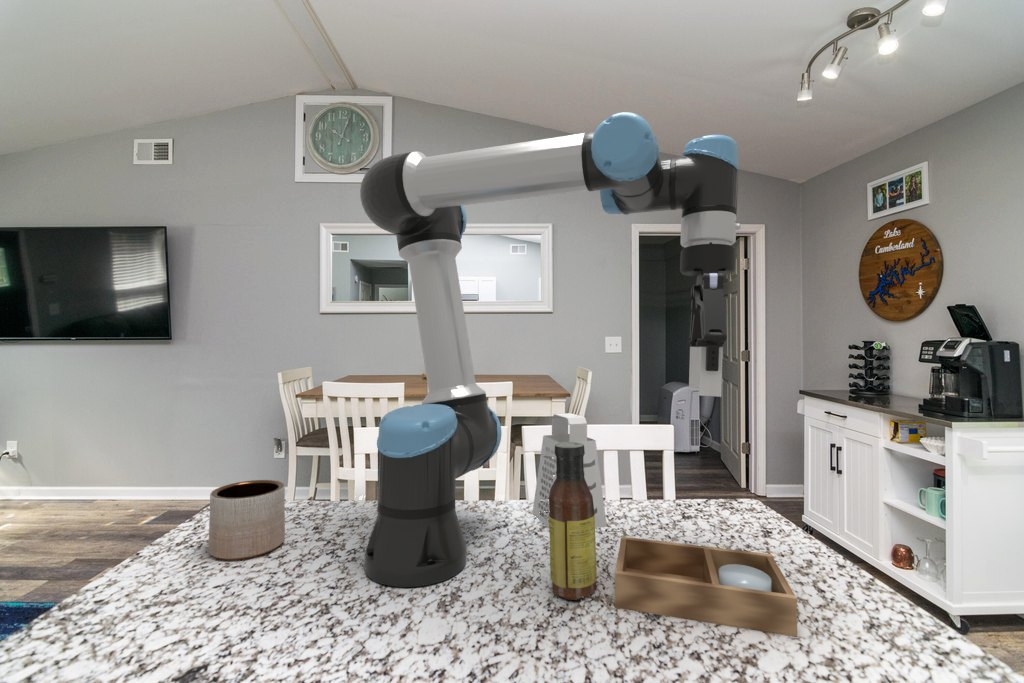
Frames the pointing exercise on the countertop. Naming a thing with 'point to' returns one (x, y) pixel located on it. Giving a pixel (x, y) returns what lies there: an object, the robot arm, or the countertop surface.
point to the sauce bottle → (571, 526)
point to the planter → (246, 519)
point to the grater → (549, 467)
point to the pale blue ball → (744, 577)
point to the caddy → (701, 586)
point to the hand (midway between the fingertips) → (703, 391)
